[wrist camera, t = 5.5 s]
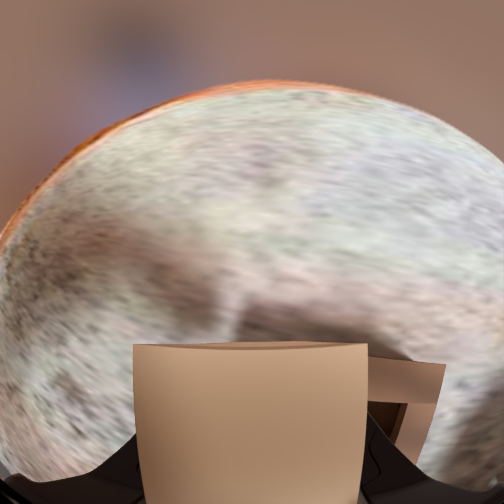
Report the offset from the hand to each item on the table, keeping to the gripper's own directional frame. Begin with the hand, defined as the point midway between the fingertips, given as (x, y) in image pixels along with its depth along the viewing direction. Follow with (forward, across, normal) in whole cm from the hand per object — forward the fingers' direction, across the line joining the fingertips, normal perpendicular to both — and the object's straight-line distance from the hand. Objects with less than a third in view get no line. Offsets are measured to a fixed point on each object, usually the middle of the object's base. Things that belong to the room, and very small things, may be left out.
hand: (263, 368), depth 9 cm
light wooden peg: (+4, 0, +6) cm, 7 cm away
